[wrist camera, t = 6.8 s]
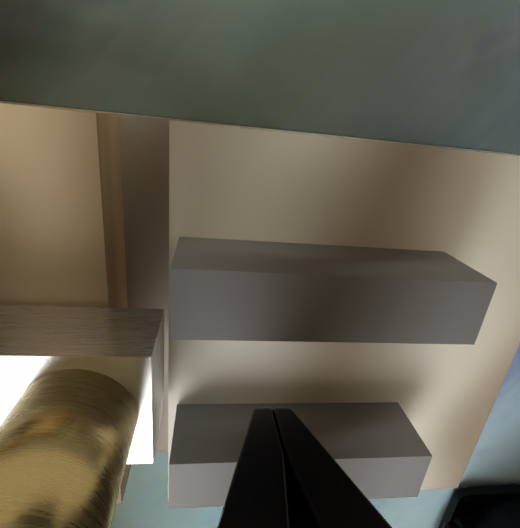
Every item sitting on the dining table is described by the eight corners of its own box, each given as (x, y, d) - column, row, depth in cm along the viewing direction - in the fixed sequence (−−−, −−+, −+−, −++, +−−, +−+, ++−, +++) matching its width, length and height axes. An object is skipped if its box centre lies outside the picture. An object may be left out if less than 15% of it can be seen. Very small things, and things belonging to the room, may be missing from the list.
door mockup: (498, 152, 12) (692, 175, 7) (411, 417, 17) (495, 545, 12) (-306, 69, 9) (-949, 9, 4) (-153, 425, 14) (-373, 609, 8)
